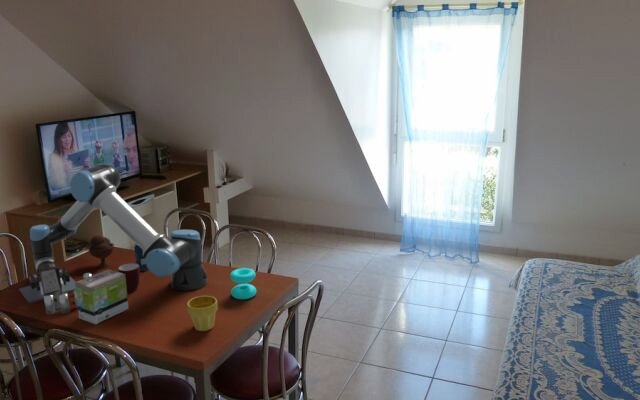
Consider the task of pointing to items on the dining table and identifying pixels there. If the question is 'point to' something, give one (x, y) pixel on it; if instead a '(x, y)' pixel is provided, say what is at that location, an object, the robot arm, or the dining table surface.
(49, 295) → the posts
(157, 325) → the dining table surface
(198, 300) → the plant pot
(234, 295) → the donuts
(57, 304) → the coffee box
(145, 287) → the dining table surface
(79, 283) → the tea box
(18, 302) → the dining table surface
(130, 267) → the mug
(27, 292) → the felt mat
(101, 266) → the ice cream bowl
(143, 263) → the soda can
